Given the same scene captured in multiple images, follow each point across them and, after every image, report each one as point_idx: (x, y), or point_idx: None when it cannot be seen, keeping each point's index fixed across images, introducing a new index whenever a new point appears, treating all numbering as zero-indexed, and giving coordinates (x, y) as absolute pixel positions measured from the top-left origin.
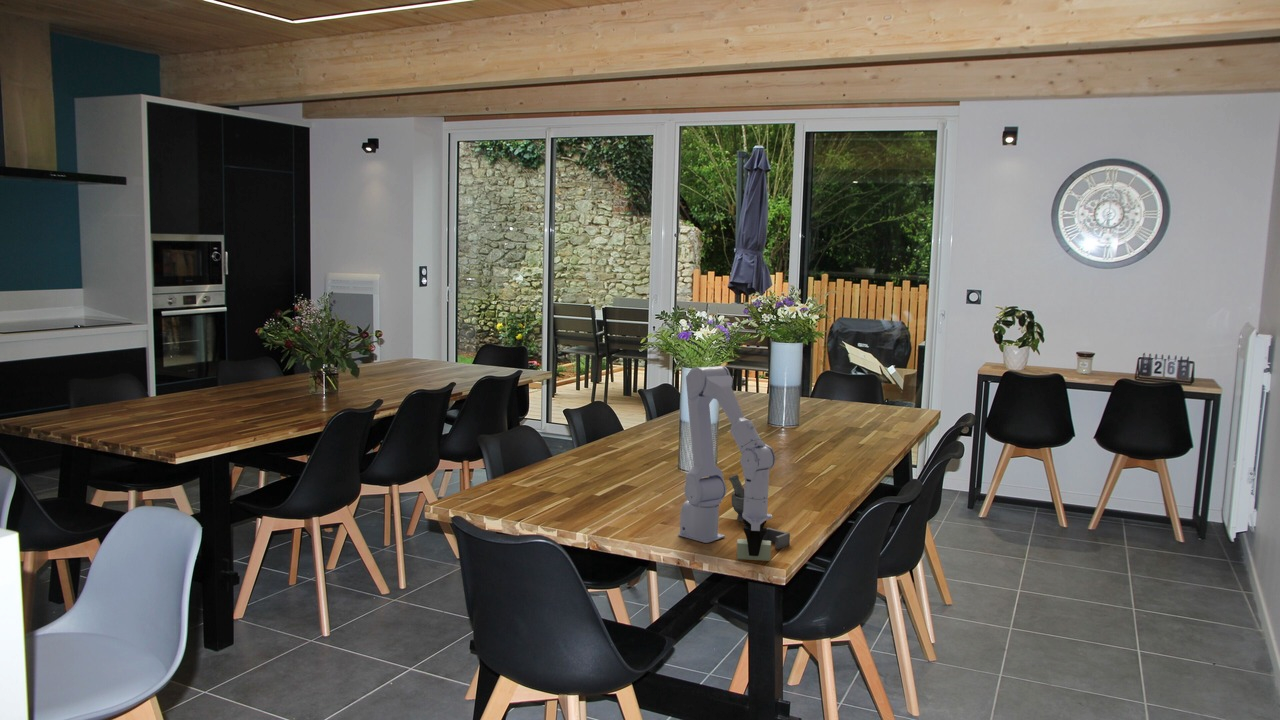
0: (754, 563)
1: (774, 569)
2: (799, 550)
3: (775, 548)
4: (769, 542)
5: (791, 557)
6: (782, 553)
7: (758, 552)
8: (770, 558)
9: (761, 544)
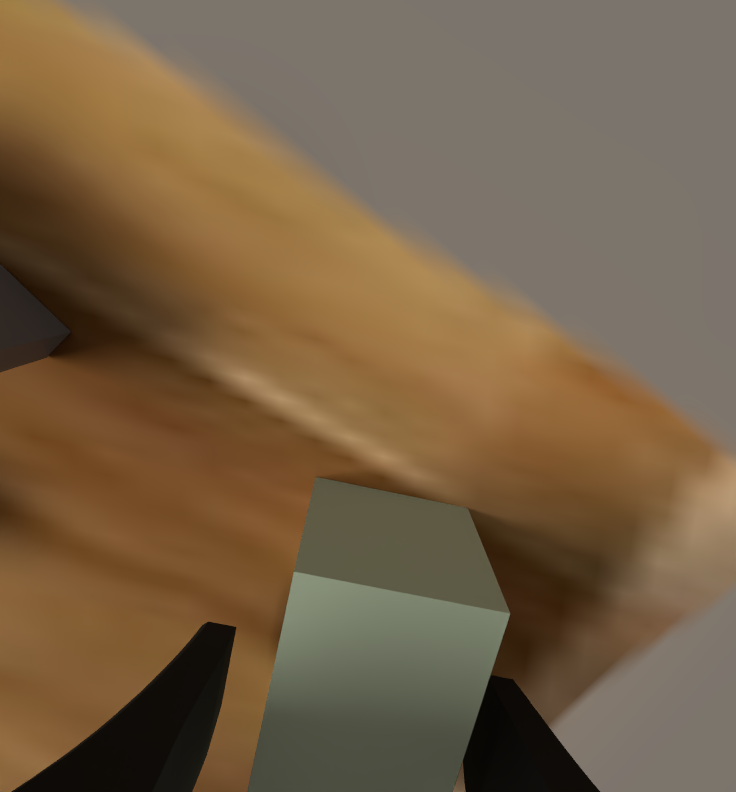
0: (532, 669)
1: (732, 531)
2: (78, 43)
3: (49, 352)
4: (378, 606)
5: (363, 240)
6: (215, 311)
7: (532, 712)
8: (471, 519)
9: (463, 726)
